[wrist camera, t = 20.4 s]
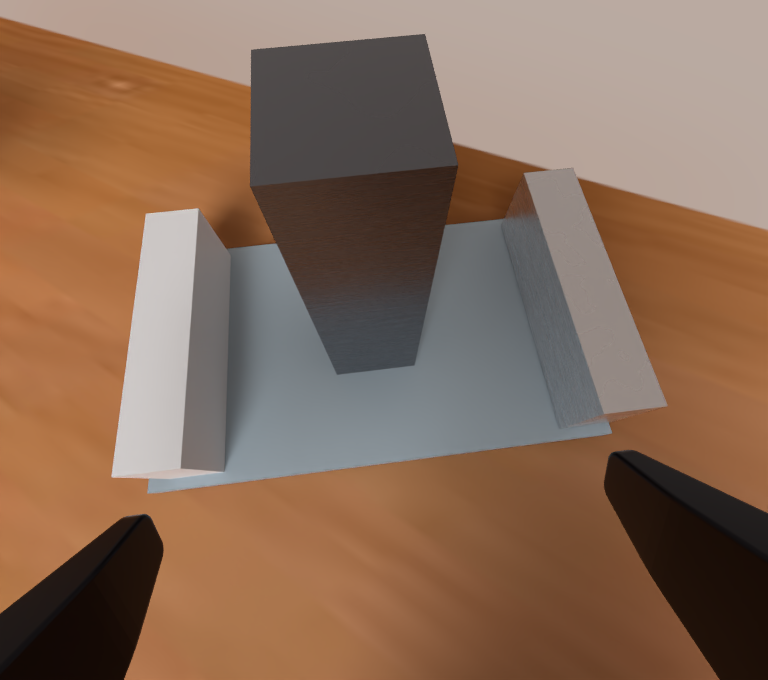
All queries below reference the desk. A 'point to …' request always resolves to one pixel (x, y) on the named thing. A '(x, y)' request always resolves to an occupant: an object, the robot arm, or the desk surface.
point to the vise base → (316, 367)
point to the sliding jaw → (576, 305)
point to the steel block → (355, 187)
